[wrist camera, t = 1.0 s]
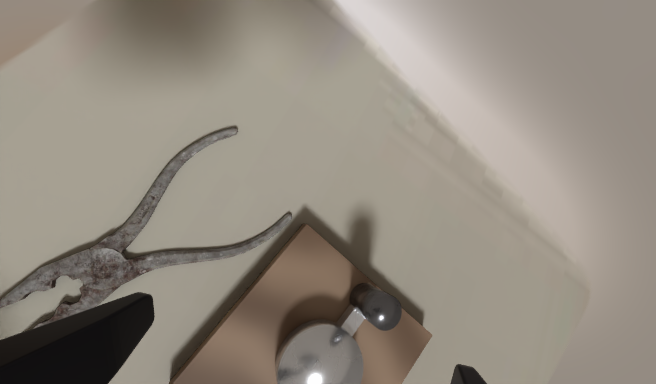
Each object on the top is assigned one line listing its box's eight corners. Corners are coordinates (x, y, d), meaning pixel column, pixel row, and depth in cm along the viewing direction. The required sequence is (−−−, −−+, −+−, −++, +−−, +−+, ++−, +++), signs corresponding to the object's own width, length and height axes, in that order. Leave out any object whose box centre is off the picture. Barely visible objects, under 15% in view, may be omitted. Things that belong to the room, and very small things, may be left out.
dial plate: (320, 486, 25) (325, 504, 23) (169, 381, 22) (164, 393, 21) (422, 329, 28) (433, 335, 27) (303, 223, 26) (307, 224, 24)
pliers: (308, 203, 26) (100, 408, 21) (306, 203, 27) (106, 401, 22) (225, 115, 24) (-21, 313, 19) (225, 118, 25) (-10, 309, 20)
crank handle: (320, 422, 23) (337, 463, 20) (256, 375, 22) (260, 408, 18) (398, 309, 26) (426, 325, 22) (344, 261, 25) (364, 270, 21)
